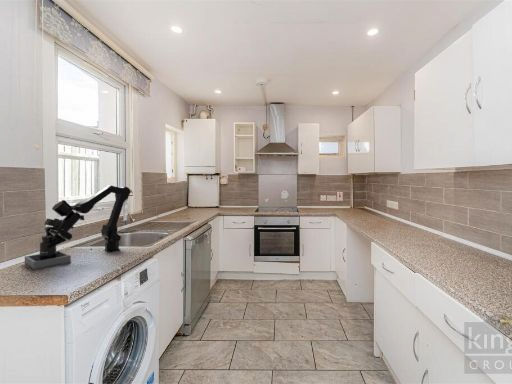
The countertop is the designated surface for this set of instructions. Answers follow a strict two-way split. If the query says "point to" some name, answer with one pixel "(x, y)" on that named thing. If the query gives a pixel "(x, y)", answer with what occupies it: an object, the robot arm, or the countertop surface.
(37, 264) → the housing
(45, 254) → the supplement bottle
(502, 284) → the countertop surface
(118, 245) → the robot arm
